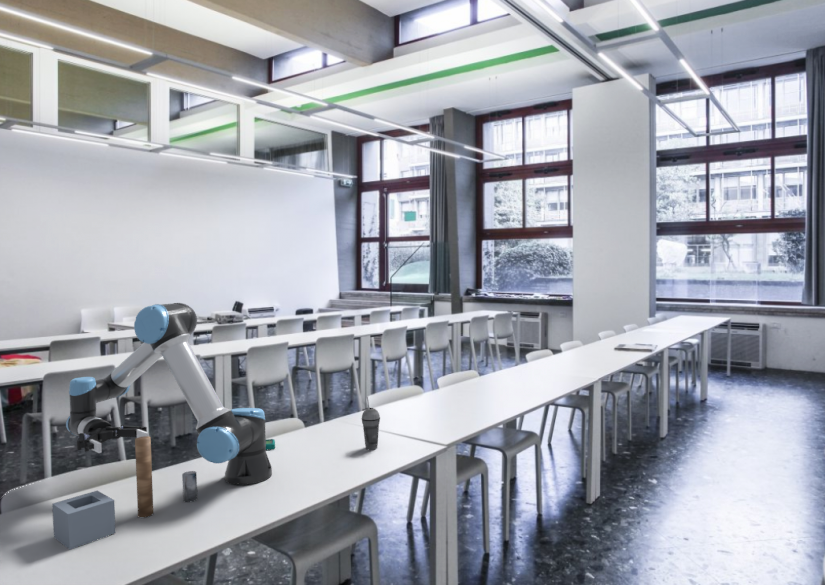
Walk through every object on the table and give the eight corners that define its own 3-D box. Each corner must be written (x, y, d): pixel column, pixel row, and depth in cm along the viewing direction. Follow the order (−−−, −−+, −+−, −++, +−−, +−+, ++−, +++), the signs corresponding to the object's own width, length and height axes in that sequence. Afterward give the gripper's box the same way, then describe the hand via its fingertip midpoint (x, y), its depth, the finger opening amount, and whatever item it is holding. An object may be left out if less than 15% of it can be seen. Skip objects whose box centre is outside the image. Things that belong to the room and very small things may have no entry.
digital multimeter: (236, 448, 222) (236, 441, 222) (275, 445, 226) (274, 437, 226) (235, 454, 215) (234, 446, 215) (275, 450, 218) (274, 443, 218)
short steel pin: (193, 495, 174) (192, 470, 173) (199, 498, 171) (198, 472, 171) (180, 499, 170) (179, 473, 170) (187, 503, 168) (186, 476, 168)
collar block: (98, 522, 156) (97, 490, 156) (115, 533, 149) (114, 499, 148) (53, 537, 147) (52, 503, 147) (69, 549, 140) (68, 514, 140)
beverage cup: (378, 451, 213) (377, 398, 213) (360, 450, 214) (358, 398, 214) (382, 445, 220) (381, 394, 220) (364, 444, 222) (363, 394, 221)
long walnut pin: (149, 510, 163) (146, 435, 162) (156, 513, 161) (153, 437, 160) (135, 515, 160) (132, 438, 159) (141, 518, 158) (138, 441, 157)
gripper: (135, 433, 190) (165, 445, 176) (51, 451, 171) (79, 466, 157) (134, 411, 190) (165, 421, 176) (51, 427, 171) (78, 440, 157)
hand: (124, 442), depth 167 cm, fingers open, 13 cm apart
